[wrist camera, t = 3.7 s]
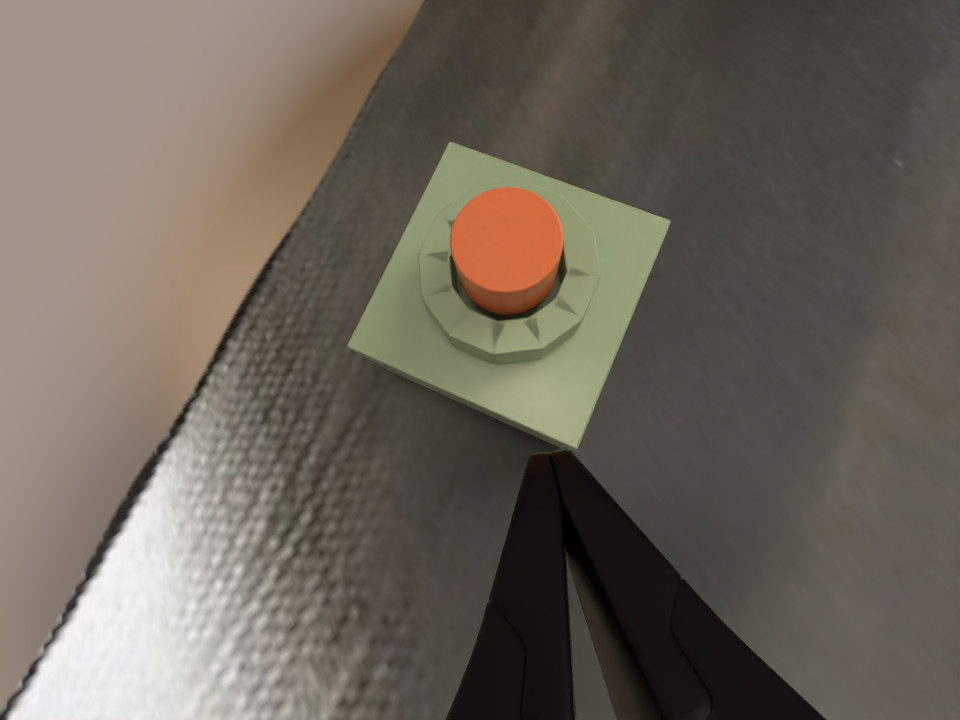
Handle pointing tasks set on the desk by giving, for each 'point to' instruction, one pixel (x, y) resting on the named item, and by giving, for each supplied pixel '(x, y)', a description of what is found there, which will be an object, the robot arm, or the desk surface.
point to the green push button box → (520, 337)
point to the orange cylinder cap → (507, 249)
